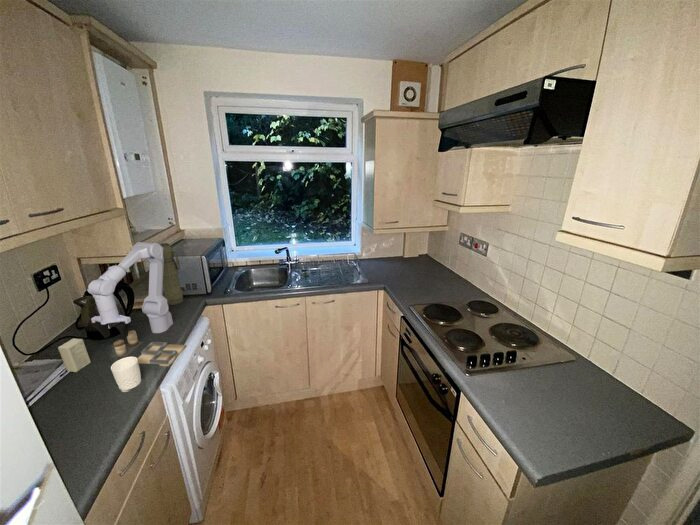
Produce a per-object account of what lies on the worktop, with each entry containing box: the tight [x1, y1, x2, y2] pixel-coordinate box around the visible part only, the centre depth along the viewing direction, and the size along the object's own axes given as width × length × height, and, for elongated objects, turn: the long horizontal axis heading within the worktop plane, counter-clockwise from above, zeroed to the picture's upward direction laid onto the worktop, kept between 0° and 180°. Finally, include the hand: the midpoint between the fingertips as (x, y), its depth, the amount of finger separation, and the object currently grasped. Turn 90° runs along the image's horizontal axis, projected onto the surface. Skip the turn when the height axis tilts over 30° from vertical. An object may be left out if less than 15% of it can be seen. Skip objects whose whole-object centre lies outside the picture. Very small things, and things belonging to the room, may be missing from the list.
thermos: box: [159, 242, 184, 306], centre depth 166 cm, size 9×12×35 cm
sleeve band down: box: [126, 329, 140, 347], centre depth 131 cm, size 4×4×6 cm
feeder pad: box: [111, 340, 144, 358], centre depth 129 cm, size 11×6×1 cm, turn 178°
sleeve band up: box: [112, 338, 127, 358], centre depth 124 cm, size 4×4×6 cm
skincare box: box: [57, 337, 92, 373], centre depth 116 cm, size 6×4×12 cm
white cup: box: [110, 356, 142, 393], centre depth 108 cm, size 8×8×10 cm
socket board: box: [136, 341, 187, 367], centre depth 126 cm, size 13×15×2 cm
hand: (116, 337), depth 122 cm, fingers open, 7 cm apart
